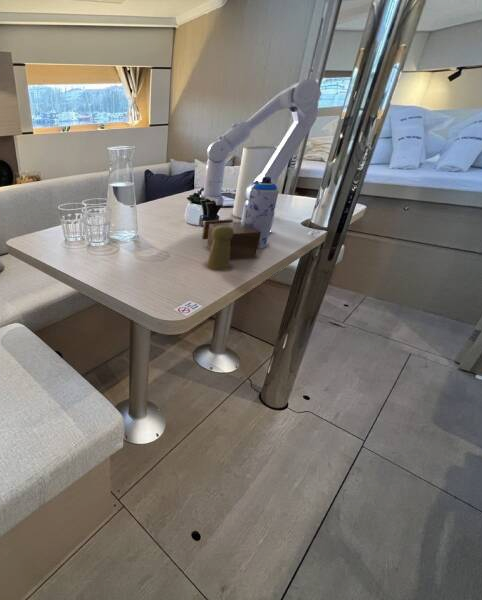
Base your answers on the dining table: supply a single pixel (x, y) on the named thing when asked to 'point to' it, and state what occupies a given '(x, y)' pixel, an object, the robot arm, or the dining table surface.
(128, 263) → the dining table surface
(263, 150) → the cylinder vase
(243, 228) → the cabinet
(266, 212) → the aerosol can
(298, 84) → the robot arm
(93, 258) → the dining table surface
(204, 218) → the dark blue-grey block
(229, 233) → the cork
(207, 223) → the drawer
